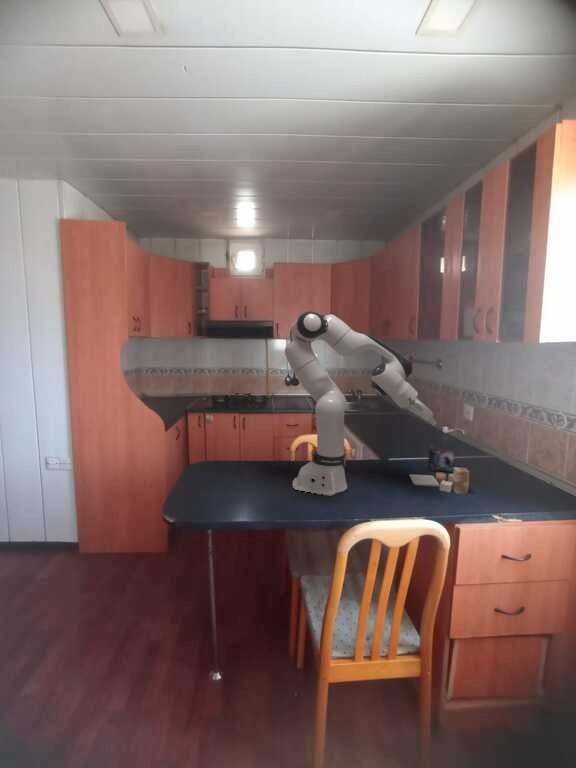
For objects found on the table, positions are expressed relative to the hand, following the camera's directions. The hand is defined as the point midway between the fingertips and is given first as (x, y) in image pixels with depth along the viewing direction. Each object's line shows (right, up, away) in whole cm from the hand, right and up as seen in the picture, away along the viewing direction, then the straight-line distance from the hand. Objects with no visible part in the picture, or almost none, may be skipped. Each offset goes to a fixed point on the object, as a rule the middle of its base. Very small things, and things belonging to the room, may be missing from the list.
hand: (430, 421), depth 145 cm
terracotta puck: (+10, -27, +13) cm, 31 cm away
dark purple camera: (+15, -25, +26) cm, 39 cm away
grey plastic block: (+15, -27, +12) cm, 33 cm away
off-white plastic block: (+8, -28, +4) cm, 30 cm away
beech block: (+13, -28, +2) cm, 31 cm away
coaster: (+2, -27, +12) cm, 30 cm away
